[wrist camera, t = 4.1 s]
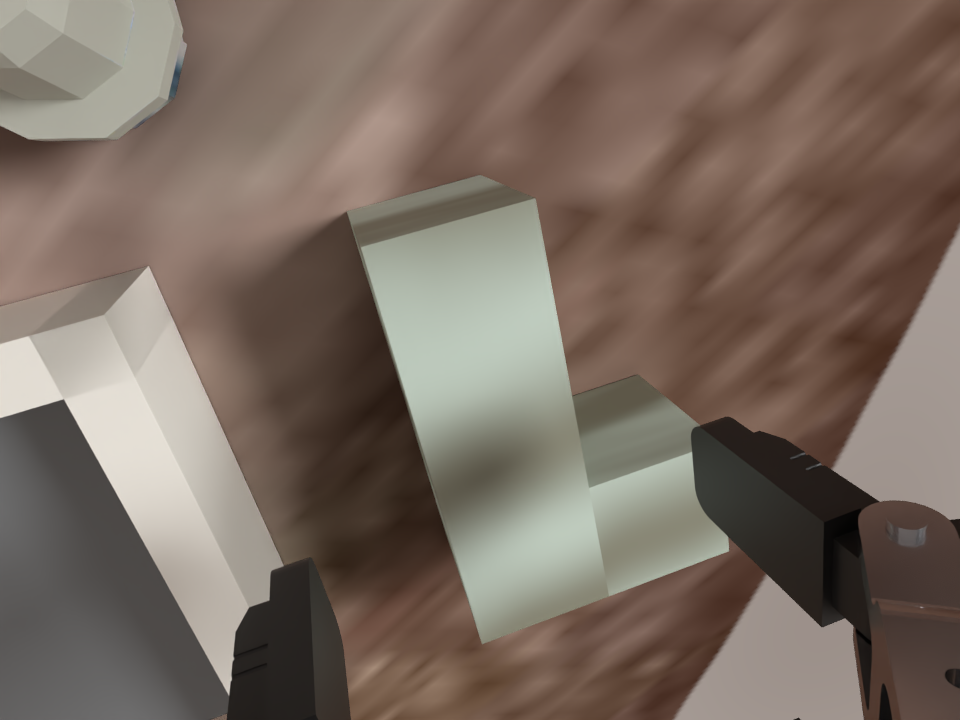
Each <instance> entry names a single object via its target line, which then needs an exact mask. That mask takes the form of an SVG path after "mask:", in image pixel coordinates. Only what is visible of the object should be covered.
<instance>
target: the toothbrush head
mask: <svg viewBox="0 0 960 720" xmlns="http://www.w3.org/2000/svg"><path fill="white" fill-rule="evenodd" d="M182 35H183V28H182V24H181V21H180V17H179V14H178V10H177V7H176V4H175V0H0V126H2V127H4V128H6V129H8V130H10V131H12V132H14V133H16V134H19V135H21V136H23V137H25V138H27V139H31V140H38V141H86V140H118V139H119V138H120V137H122V136H123V135H124V134H125V133H127V132H128V131H129V130H130V129H132V128H137V127H138V126H140V125H141V124H142V123H143V122H145V121H146V120H147V119H149V118H150V117H151V116H152V115H154V114H155V113H156V112H157V111H159V110H160V109H161V108H163V107H164V106H165V105H166V104H168V103H169V102H170V101H171V100H173V99H174V98H175V95H176V91H177V87H178V82H179V78H180V74H181V69H182V65H183V60H184V56H185V52H186V47H187V44H186V43H185V42H184V41H183V38H182Z"/></svg>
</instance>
